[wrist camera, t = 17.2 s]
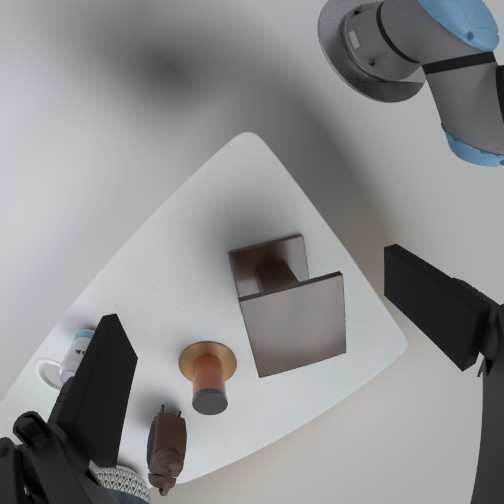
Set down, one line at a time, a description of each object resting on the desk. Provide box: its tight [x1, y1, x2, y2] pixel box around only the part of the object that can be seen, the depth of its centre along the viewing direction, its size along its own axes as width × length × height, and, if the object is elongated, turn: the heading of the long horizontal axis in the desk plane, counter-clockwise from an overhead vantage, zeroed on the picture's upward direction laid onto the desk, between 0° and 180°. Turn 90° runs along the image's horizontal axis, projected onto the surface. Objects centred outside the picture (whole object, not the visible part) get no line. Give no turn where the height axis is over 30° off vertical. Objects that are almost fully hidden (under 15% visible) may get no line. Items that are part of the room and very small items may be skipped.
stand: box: [228, 234, 346, 378], centre depth 42 cm, size 12×12×16 cm
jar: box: [192, 355, 228, 415], centre depth 49 cm, size 6×6×10 cm
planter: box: [95, 465, 150, 504], centre depth 55 cm, size 20×20×21 cm
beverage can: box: [59, 329, 95, 385], centre depth 43 cm, size 7×7×12 cm
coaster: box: [179, 342, 237, 382], centre depth 54 cm, size 11×11×1 cm
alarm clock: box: [147, 405, 187, 496], centre depth 49 cm, size 14×7×20 cm, turn 160°
